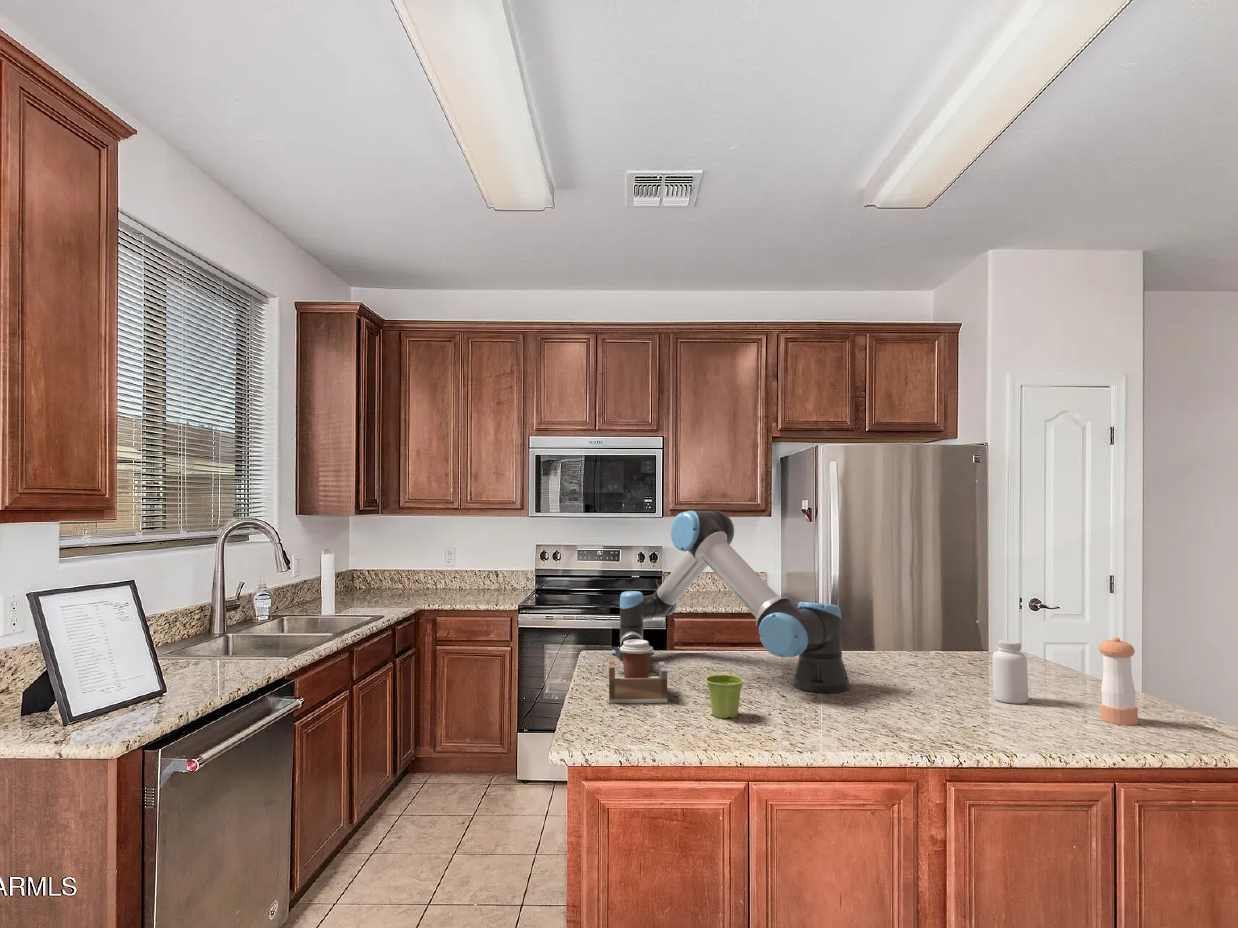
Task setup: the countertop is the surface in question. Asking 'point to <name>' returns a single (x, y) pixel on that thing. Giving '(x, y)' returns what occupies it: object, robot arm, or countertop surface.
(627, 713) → the countertop surface
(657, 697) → the shelf
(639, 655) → the coffee cup
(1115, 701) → the pepper shaker
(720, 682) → the plant pot
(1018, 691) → the pill bottle
